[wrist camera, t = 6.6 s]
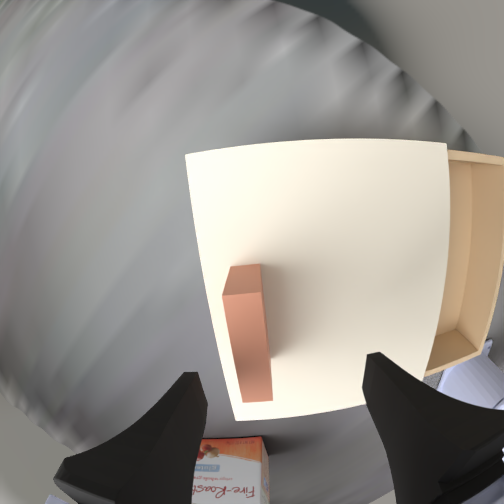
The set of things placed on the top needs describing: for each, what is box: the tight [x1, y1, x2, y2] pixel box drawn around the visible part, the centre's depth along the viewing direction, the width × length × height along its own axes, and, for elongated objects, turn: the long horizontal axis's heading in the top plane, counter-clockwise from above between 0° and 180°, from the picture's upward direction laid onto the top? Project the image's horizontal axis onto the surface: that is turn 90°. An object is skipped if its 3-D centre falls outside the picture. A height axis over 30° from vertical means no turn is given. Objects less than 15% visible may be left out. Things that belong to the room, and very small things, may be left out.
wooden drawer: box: [424, 150, 504, 377], centre depth 17 cm, size 17×14×5 cm
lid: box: [185, 139, 450, 421], centre depth 13 cm, size 18×14×4 cm
